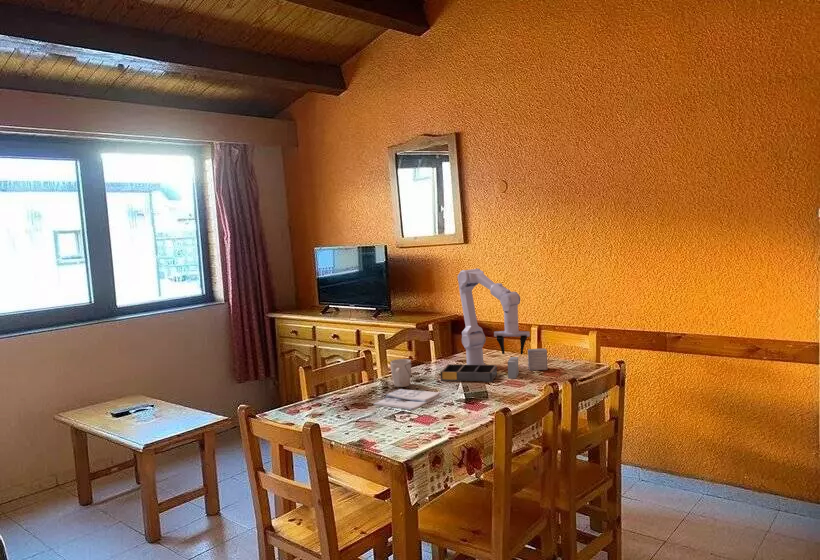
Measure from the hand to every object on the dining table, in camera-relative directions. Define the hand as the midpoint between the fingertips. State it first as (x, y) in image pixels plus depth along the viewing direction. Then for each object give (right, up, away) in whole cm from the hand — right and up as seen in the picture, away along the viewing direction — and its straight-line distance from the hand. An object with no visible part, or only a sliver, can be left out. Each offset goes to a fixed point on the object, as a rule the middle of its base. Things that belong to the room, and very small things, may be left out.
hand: (512, 353), depth 256 cm
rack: (-18, -10, +2) cm, 21 cm away
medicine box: (+13, -8, +10) cm, 18 cm away
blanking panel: (+1, -9, +1) cm, 10 cm away
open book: (-44, -15, -26) cm, 53 cm away
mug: (-46, -13, -6) cm, 48 cm away
